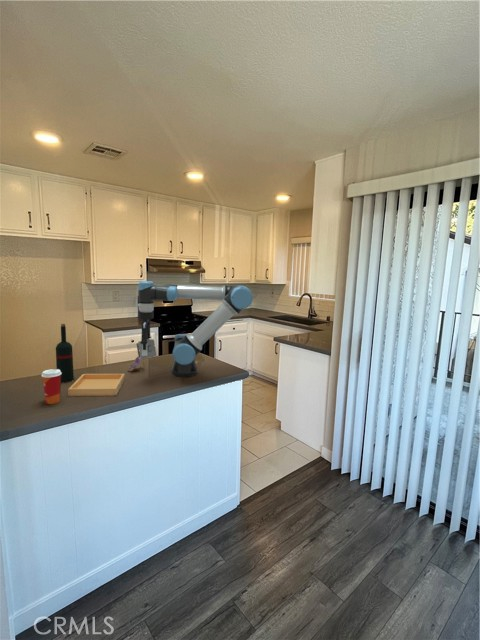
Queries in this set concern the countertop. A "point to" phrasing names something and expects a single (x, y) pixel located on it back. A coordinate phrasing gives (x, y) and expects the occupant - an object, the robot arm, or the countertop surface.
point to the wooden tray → (97, 385)
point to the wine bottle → (64, 357)
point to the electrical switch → (150, 349)
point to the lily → (135, 363)
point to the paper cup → (52, 385)
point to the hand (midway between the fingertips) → (145, 352)
